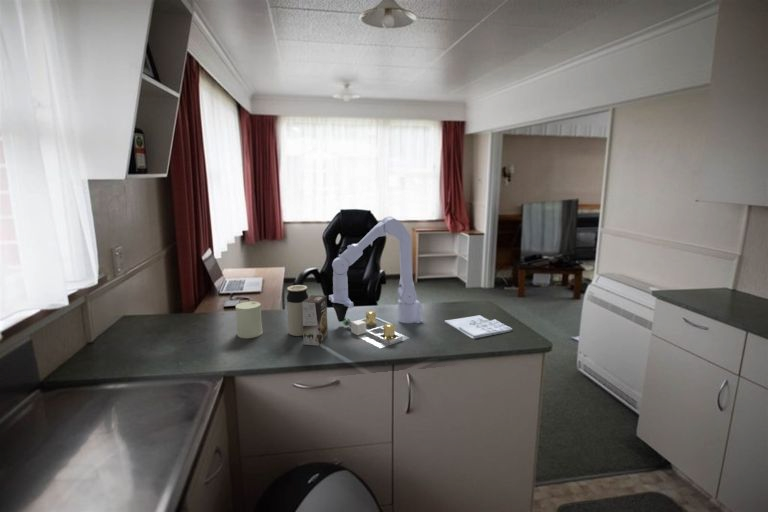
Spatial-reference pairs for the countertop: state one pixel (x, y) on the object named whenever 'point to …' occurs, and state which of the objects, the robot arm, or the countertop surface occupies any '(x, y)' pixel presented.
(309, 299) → the coffee box
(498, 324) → the white printed book
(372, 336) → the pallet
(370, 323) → the cylinder
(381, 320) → the tray
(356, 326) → the white block
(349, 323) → the knob
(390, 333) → the billet
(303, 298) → the travel mug
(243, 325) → the can
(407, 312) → the robot arm
